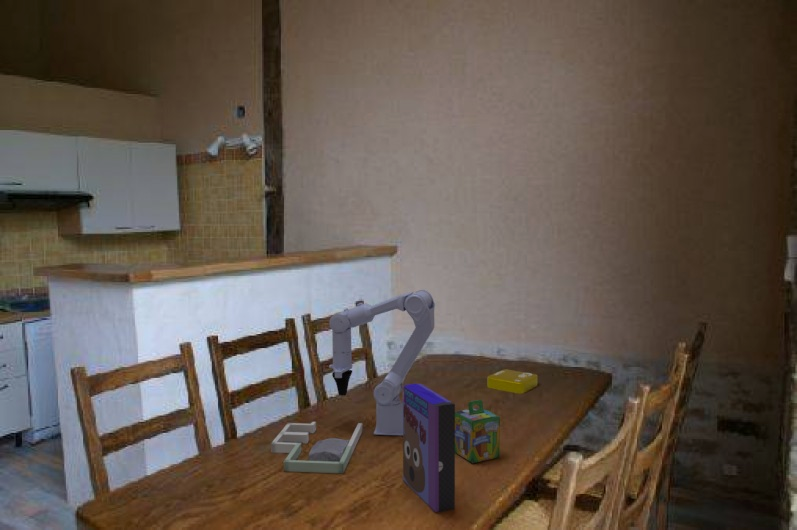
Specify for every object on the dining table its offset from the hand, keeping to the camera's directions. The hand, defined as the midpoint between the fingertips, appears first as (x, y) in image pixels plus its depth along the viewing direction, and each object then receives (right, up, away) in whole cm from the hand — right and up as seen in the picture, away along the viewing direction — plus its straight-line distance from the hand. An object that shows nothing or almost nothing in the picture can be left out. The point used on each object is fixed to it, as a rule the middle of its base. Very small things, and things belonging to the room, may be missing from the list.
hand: (342, 394), depth 185 cm
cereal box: (+24, -14, -44) cm, 52 cm away
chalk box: (+38, -12, -22) cm, 46 cm away
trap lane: (-6, -11, -17) cm, 22 cm away
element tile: (+60, -7, +43) cm, 74 cm away
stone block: (-2, -12, -22) cm, 26 cm away
